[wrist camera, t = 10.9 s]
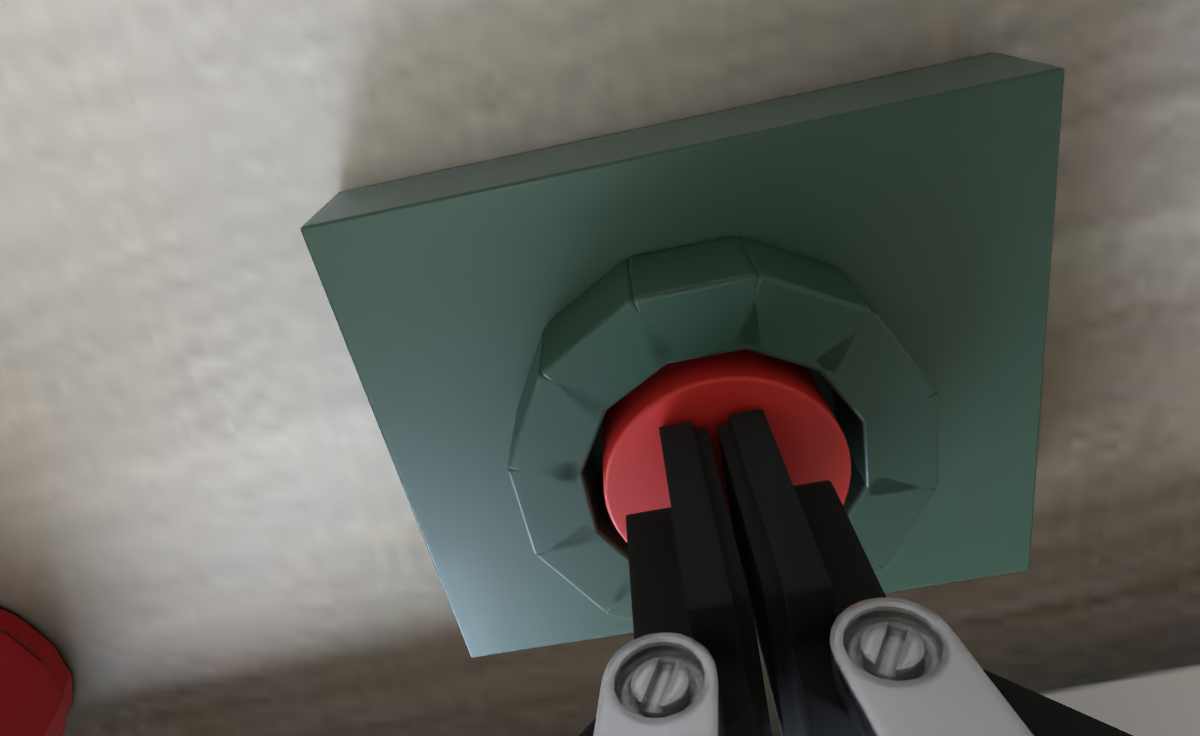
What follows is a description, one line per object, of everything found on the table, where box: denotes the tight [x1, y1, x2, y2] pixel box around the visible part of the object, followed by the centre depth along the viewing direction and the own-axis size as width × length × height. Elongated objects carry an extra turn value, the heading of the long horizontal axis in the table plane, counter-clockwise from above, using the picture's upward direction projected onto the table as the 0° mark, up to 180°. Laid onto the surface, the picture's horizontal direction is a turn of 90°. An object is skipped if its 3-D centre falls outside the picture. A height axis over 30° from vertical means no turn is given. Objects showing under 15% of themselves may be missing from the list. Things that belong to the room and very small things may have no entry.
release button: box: [602, 349, 851, 542], centre depth 13 cm, size 4×4×2 cm
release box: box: [301, 53, 1064, 658], centre depth 14 cm, size 12×10×4 cm
